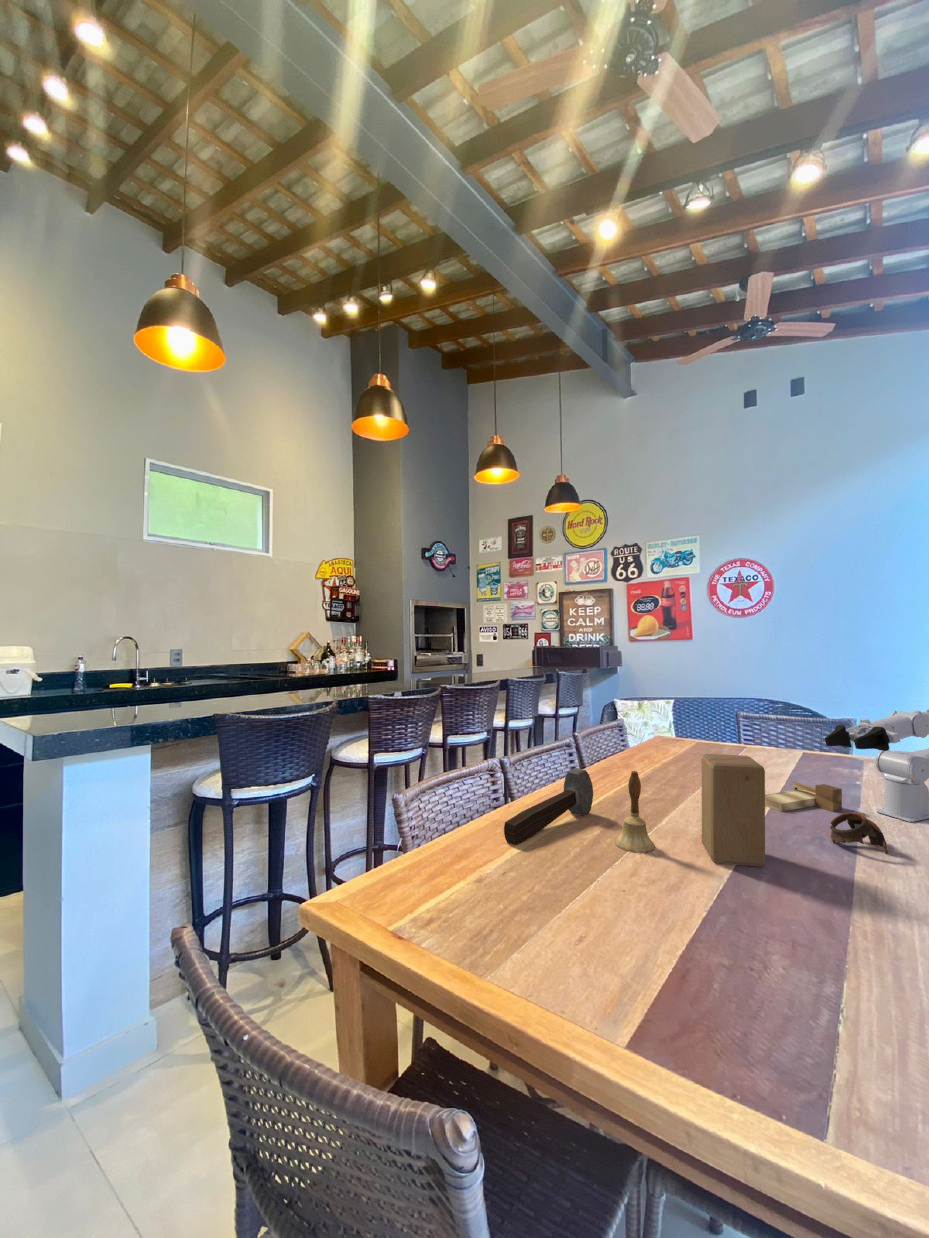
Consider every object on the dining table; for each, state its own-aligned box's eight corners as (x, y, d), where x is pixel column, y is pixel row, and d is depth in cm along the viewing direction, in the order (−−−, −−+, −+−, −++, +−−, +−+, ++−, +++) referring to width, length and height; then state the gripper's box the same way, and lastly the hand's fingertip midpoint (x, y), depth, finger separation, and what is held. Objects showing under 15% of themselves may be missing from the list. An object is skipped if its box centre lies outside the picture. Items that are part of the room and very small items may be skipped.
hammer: (519, 863, 115) (594, 811, 136) (515, 813, 114) (591, 768, 135) (503, 856, 119) (578, 806, 140) (498, 807, 118) (575, 765, 139)
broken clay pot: (896, 863, 109) (875, 827, 109) (845, 872, 114) (825, 838, 114) (885, 829, 119) (866, 797, 119) (839, 838, 124) (820, 807, 124)
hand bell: (660, 852, 112) (660, 776, 112) (621, 852, 112) (621, 776, 112) (647, 837, 121) (647, 766, 121) (610, 837, 121) (610, 766, 121)
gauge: (797, 796, 150) (797, 776, 150) (841, 809, 139) (841, 788, 139) (789, 797, 149) (789, 777, 149) (832, 811, 137) (832, 790, 138)
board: (801, 795, 150) (801, 788, 150) (826, 803, 144) (826, 795, 144) (757, 803, 144) (757, 795, 144) (781, 811, 137) (781, 803, 137)
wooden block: (766, 869, 105) (766, 766, 105) (712, 864, 107) (712, 764, 107) (750, 848, 115) (750, 754, 115) (700, 844, 117) (700, 752, 117)
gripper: (851, 714, 141) (810, 725, 137) (908, 716, 127) (865, 728, 123) (857, 741, 140) (817, 752, 136) (916, 746, 126) (873, 759, 122)
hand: (840, 743), depth 130 cm, fingers open, 7 cm apart
